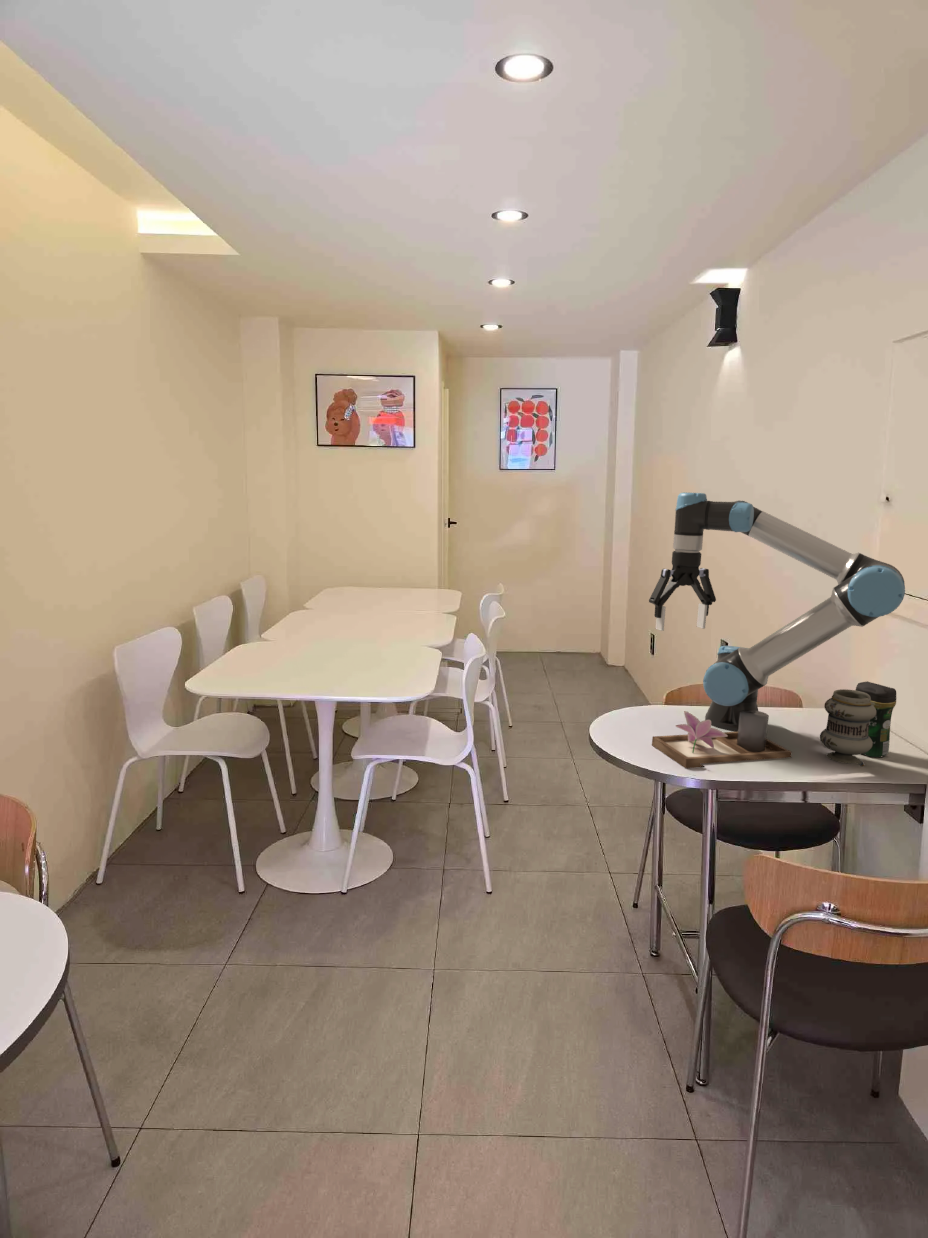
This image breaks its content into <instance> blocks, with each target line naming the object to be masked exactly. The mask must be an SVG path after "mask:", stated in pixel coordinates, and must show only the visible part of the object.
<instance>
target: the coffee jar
mask: <svg viewBox="0 0 928 1238" xmlns="http://www.w3.org/2000/svg"><path fill="white" fill-rule="evenodd" d="M855 690H856V691H860V692H864V693H867V694H868V695H870V697H871V704H872V705H873V706H874V707H875V709H876V715H875V717H874V718H872V719H870V722H869V730H868V736H869V737H870V738H871V740H872V748H871V749H870V750H869V751H868V752H866V753H863V754H862V755H864V754H865V756H867V757H871V756H872V758H882V757H881V756H883V757H885V756H887V755H889V752H890V739H891V738H890V735H891V723H892V722H891V721H892V716H893V711H894V709H895V707H896V705H897V690H896V689H895V688H893V687H890V686H886V685H882V684H879V683H874V682H871V681H867V680H866V681H862V682H859V683H857V685H856V687H855Z"/></svg>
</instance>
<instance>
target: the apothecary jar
mask: <svg viewBox="0 0 928 1238" xmlns="http://www.w3.org/2000/svg"><path fill="white" fill-rule="evenodd" d="M824 710H825V712H827V714H828V716H827V723H826V728H825V729H823V730H822V731H821V732H820V734H819V740H820V742H821V744H823V745H824V747H825V748H827V749H829V750H830V751H831V752H828V753H826V755H825V756H826V757H827V758H828V759H830V760H832V761H834V762H838V763H843V764H856V765H858V766H860V767H863V766H864V767H865V763H864V762H863V761H862V759H860V758H858V757H857V756H858V755H864V754H863V753H866V752H868V751H869V750H870V749H871V748H872V740H871V738H870V737H869V736H868V730H869V722H870V719H872V718H874V717H875V715H876V709H875V707H874V706H873V705H872V704H871V697H870V695H868V694H867V693H864V692H860V691H856V689H854V690H853V689H847V688H845V689H836V690H834V691H833V693H832V696H831V697H830V698H828V699H827V700H826V701H825V703H824Z"/></svg>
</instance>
